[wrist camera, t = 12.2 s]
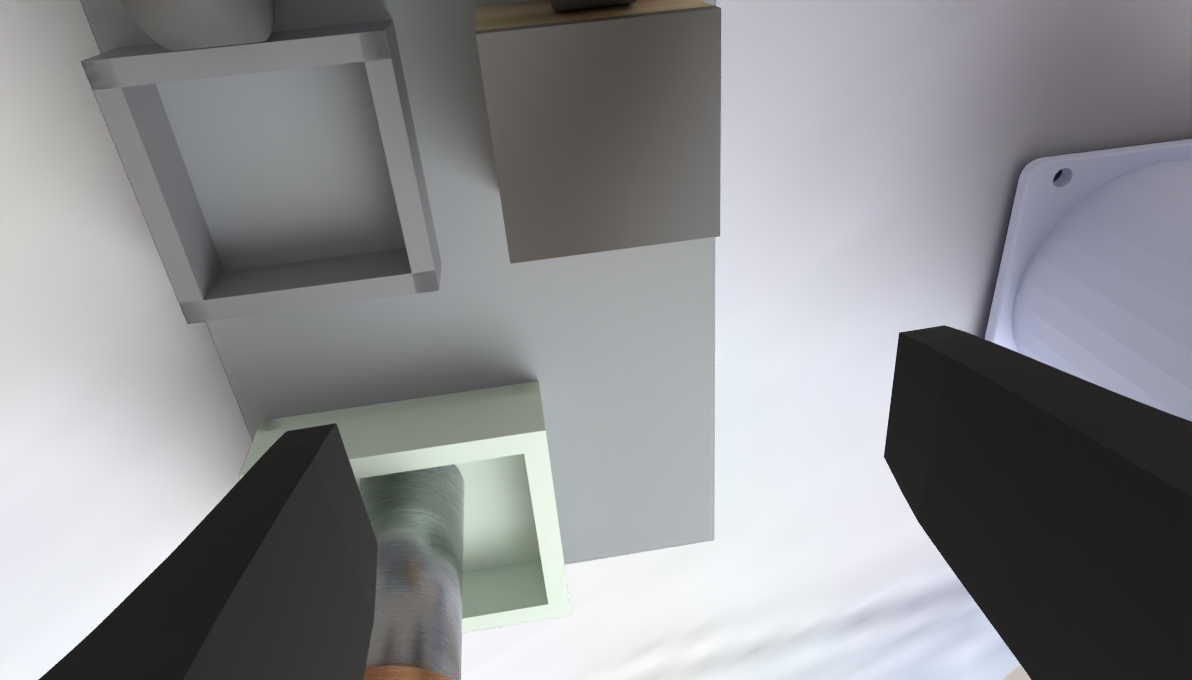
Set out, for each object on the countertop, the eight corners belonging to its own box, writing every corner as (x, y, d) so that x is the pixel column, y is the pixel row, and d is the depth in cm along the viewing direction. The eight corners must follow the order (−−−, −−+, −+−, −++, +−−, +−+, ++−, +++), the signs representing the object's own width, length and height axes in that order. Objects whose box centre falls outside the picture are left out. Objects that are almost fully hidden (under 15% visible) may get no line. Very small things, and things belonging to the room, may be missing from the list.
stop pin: (469, 421, 20) (465, 698, 13) (493, 527, 22) (502, 817, 15) (322, 445, 19) (238, 741, 12) (360, 550, 21) (305, 856, 14)
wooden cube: (667, -13, 16) (721, 7, 12) (673, 173, 18) (720, 236, 14) (475, 6, 15) (475, 34, 12) (503, 195, 17) (510, 263, 14)
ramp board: (697, -539, 13) (747, -639, 10) (704, 514, 25) (728, 576, 22) (-80, -505, 12) (-218, -607, 9) (323, 575, 24) (307, 646, 21)
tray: (538, 381, 20) (545, 430, 18) (563, 557, 23) (571, 615, 21) (261, 420, 19) (238, 475, 17) (327, 596, 23) (314, 658, 21)
